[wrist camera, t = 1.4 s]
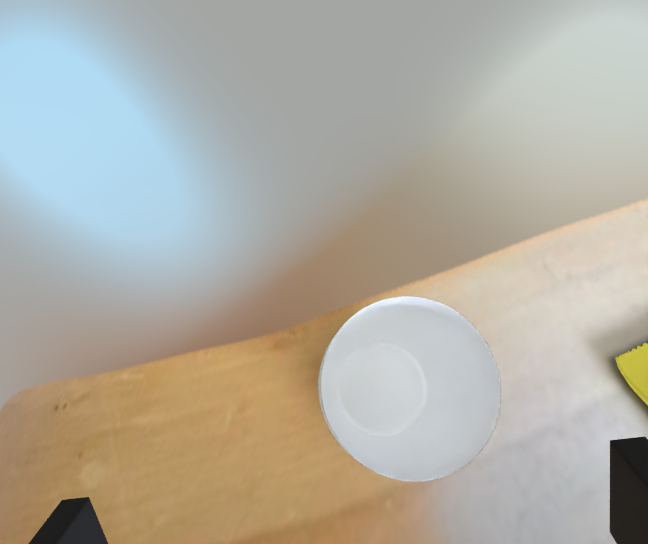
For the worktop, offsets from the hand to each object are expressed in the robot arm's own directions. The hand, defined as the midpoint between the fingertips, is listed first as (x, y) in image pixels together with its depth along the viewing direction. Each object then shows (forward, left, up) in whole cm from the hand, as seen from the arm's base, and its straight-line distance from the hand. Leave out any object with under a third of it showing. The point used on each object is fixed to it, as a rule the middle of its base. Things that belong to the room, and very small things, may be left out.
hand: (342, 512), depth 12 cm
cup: (+2, +4, -22) cm, 23 cm away
